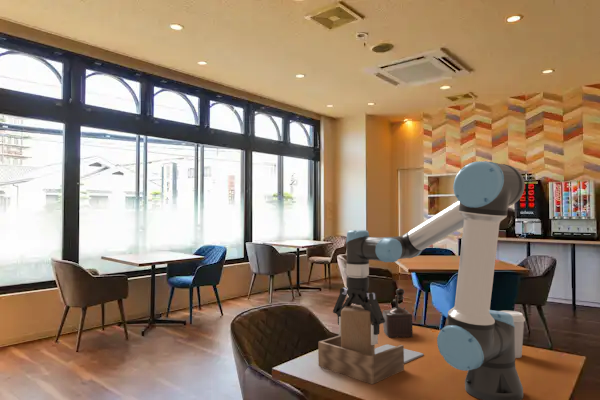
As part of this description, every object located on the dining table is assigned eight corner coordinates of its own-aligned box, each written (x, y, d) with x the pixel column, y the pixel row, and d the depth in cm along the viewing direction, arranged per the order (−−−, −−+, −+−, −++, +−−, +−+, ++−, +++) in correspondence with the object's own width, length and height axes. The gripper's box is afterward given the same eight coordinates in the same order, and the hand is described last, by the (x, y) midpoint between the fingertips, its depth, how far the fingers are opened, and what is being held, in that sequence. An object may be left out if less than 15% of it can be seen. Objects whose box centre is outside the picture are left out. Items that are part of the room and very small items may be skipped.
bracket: (404, 369, 139) (403, 345, 140) (372, 384, 128) (371, 357, 128) (351, 354, 156) (350, 332, 156) (318, 365, 144) (318, 341, 145)
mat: (423, 355, 154) (423, 353, 154) (403, 364, 145) (403, 362, 145) (386, 345, 166) (386, 344, 166) (365, 353, 157) (365, 351, 157)
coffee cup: (500, 358, 149) (498, 315, 150) (494, 350, 159) (493, 309, 159) (529, 360, 147) (528, 316, 148) (522, 351, 157) (521, 310, 157)
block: (371, 374, 136) (370, 311, 137) (341, 371, 139) (340, 309, 139) (375, 363, 146) (374, 305, 146) (346, 361, 148) (345, 303, 149)
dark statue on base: (415, 337, 176) (414, 293, 177) (388, 338, 176) (387, 294, 177) (404, 327, 192) (403, 287, 193) (380, 328, 191) (379, 287, 192)
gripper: (395, 279, 136) (395, 345, 136) (337, 270, 155) (337, 329, 154) (381, 282, 131) (381, 351, 131) (323, 273, 150) (323, 333, 149)
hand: (357, 339), depth 142 cm, fingers closed on block, 13 cm apart
